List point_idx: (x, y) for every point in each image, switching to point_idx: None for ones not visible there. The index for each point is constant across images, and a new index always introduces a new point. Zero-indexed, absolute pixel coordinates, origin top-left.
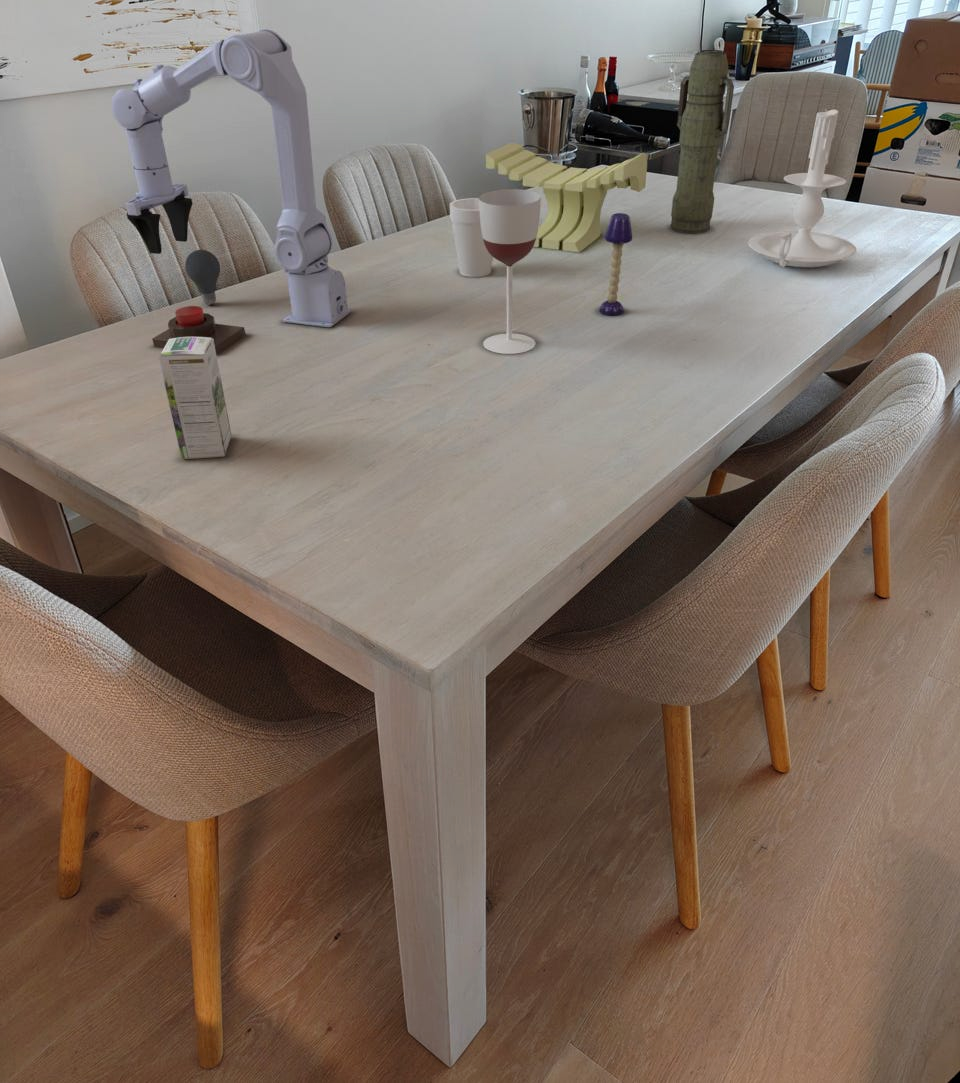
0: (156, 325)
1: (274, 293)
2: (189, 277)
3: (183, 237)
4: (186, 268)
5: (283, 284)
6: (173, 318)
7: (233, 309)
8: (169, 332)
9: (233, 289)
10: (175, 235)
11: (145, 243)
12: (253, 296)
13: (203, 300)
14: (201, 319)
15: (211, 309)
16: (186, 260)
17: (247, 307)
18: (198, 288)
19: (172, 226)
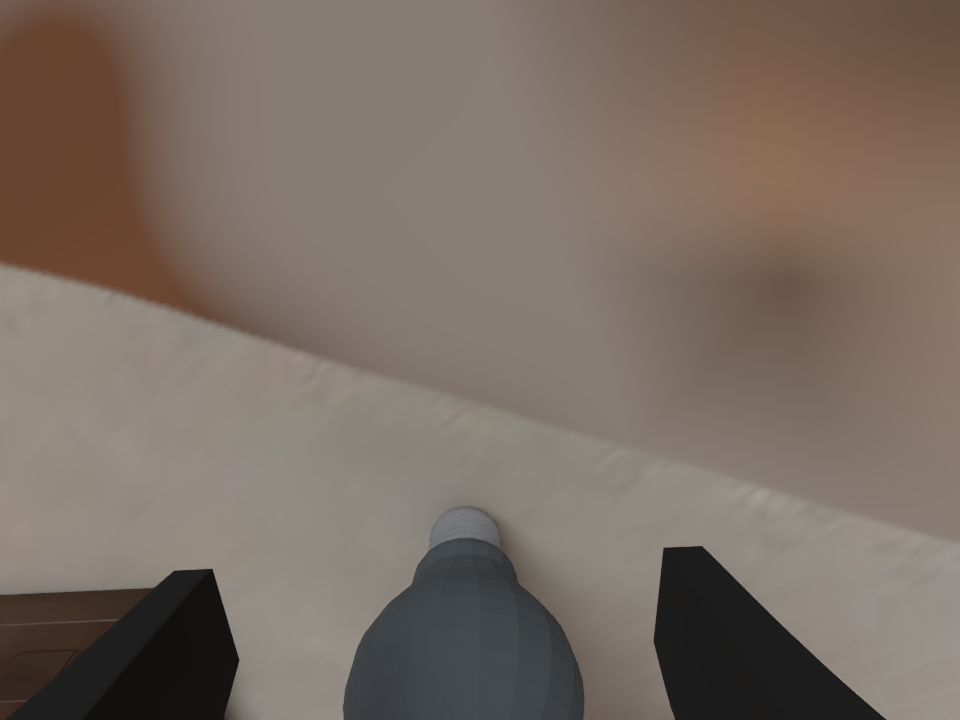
0: (123, 455)
1: None
2: (386, 606)
3: (666, 676)
4: (355, 672)
5: (818, 640)
6: (10, 706)
7: None
8: (11, 648)
9: (710, 489)
10: (684, 604)
11: (81, 659)
12: (635, 613)
13: (432, 533)
14: None
15: (419, 551)
16: (376, 714)
17: None
18: (416, 577)
19: (743, 688)
